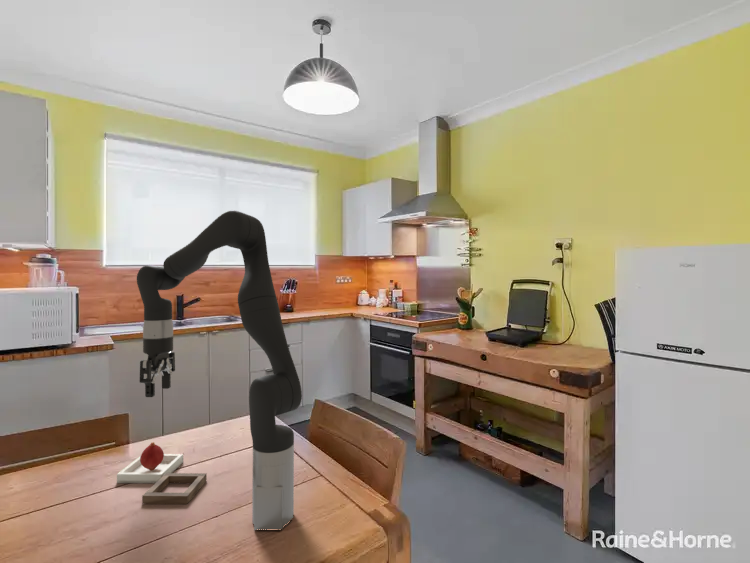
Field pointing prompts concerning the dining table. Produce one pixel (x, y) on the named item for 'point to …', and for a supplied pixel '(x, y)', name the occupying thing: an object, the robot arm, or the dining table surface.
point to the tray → (144, 475)
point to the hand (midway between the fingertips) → (158, 392)
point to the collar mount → (174, 498)
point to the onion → (151, 456)
